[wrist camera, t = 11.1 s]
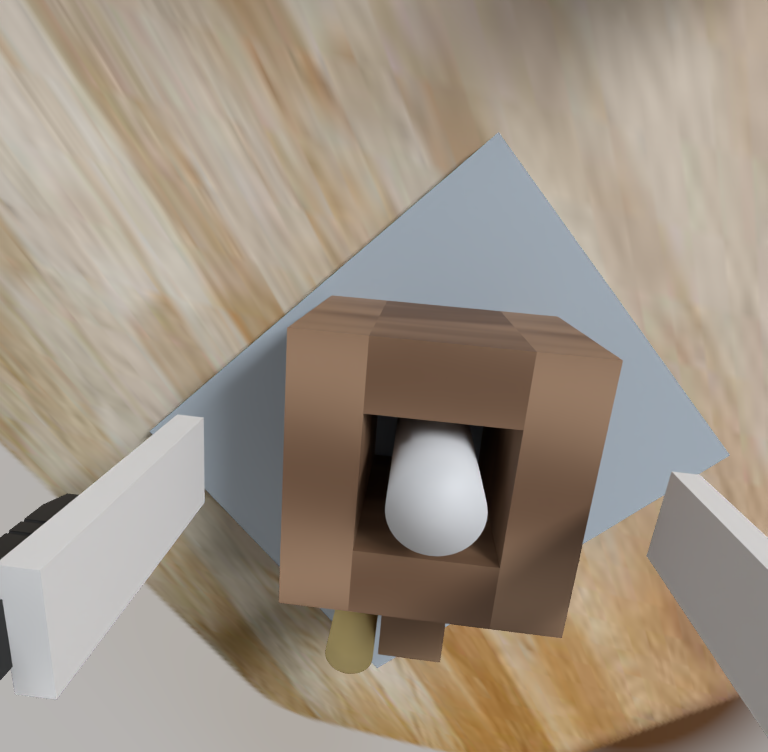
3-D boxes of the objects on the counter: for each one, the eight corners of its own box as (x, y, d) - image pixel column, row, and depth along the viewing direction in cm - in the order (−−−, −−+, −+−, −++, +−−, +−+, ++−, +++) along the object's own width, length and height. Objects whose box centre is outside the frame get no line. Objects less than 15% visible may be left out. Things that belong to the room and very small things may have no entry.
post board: (162, 421, 24) (12, 532, 15) (494, 137, 20) (549, 66, 11) (379, 649, 27) (356, 854, 18) (714, 443, 22) (899, 582, 14)
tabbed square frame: (331, 295, 21) (287, 327, 14) (557, 316, 20) (622, 360, 14) (316, 570, 24) (275, 700, 18) (508, 593, 24) (540, 735, 17)
